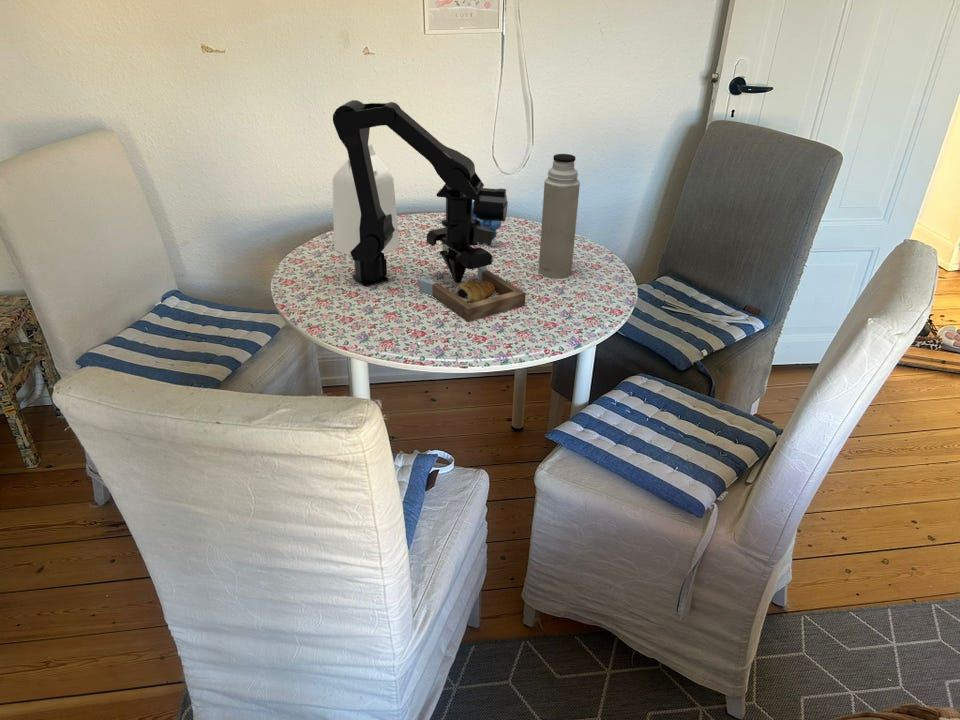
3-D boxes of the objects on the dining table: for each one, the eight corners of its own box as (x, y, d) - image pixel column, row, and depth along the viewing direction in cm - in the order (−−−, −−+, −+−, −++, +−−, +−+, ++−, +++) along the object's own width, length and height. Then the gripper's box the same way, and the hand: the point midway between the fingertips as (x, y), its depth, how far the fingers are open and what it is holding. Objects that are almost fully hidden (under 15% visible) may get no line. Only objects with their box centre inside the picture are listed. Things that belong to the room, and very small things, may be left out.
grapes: (508, 243, 190) (510, 199, 184) (494, 251, 185) (496, 206, 179) (472, 234, 195) (472, 190, 189) (457, 241, 190) (458, 197, 184)
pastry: (482, 286, 167) (482, 271, 165) (502, 296, 163) (503, 280, 161) (451, 297, 161) (451, 281, 159) (471, 307, 157) (471, 292, 155)
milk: (367, 236, 192) (361, 137, 179) (399, 247, 186) (395, 145, 173) (334, 249, 184) (325, 146, 170) (366, 261, 178) (359, 155, 165)
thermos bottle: (531, 269, 175) (539, 154, 161) (556, 262, 179) (565, 149, 165) (553, 281, 170) (563, 162, 155) (578, 273, 174) (589, 157, 160)
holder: (462, 323, 150) (462, 310, 148) (418, 291, 163) (417, 279, 162) (529, 303, 159) (530, 291, 157) (482, 275, 172) (482, 263, 170)
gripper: (514, 223, 154) (510, 290, 162) (466, 199, 167) (465, 262, 175) (470, 232, 148) (468, 301, 156) (425, 207, 162) (425, 271, 170)
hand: (458, 282), depth 164 cm, fingers closed
